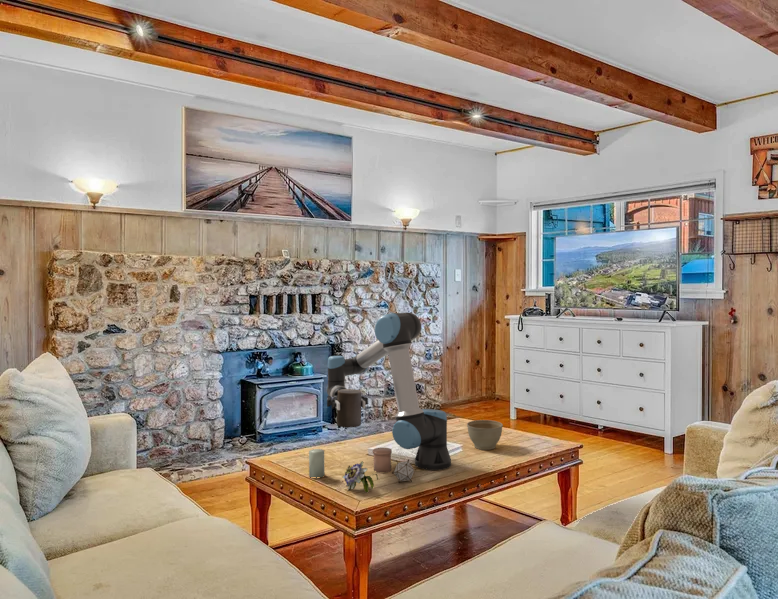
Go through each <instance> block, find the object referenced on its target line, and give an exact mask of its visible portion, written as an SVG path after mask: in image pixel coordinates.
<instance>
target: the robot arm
mask: <svg viewBox="0 0 778 599" xmlns="http://www.w3.org/2000/svg"><path fill="white" fill-rule="evenodd" d="M421 332H422V322H421V319H420V317H418V315H416V314H414V313H412V312H395V313H394V312H392V313H387V314H383V315H381V316H380V317H378V319H377V322H376V323H375V325H374V334H375V335H374V336H375V338H376V339H377V340H376V341H375V342H374V343H372V344H370V345H368V346H367V347H366V348H364V349H363V350H362V351H360V352H359V353H358V354H356V355H355V356H353V357H352V358H351V357H350V358H345V356H343V355H331V356H329V357H328V359H327V385H326V394H327V398H326V407H329V408H330V407H331V409H336V410H340V403H339V402H338V401H337V397H338V390H342V389H347V388H346V382H345V381H346V377H348V376H353V375H361V374H363V373H366V372H367V371H368V369H369V368H370V367H371V366H373V365H374V364H375V363H377V362H378V361H379V360H381V359H382V358H384V357H385V356H388V359H389V360H388V361H389V365H390V371H391V377H392V383H393V388H394V395H395V399H396V407H397V412H396V414H395V415H394V417H395V421H396V422H395V423H394V424H393V427H392V428H391V434H392V438H393V440H394V442H395V443H396V444H397V445H398V446H399V447H400V448H402V449H405V450H412V449H416V448H417V451H416V454H415V457H414V466H415V467H416V468H419V469H422V470H426V471H427V470H428V471H442V470H446V469H449V468H450V467H451V466H452V458H451V455H450V452H449V448H448V442H447V441H448V437H447V436H448V434H447V433H448V431H447V430H448V428H447V427H448V426H447V425H448V420H447V418H448V417H447V413H446V412H445V411H443V410H439V409H432V408H420V406H419V398H418V394H417V388H416V382H415V377H414V372H413V364H412V360H411V354H410V348H411V346H412V345H413V344H412V341H414V340H415V339H416V338H418V336H420V334H421ZM368 404H369V398H368V397H366V396H365V395H361V409H363V410H365V409H366V405H368Z"/></svg>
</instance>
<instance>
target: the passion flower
mask: <svg viewBox="0 0 778 599" xmlns="http://www.w3.org/2000/svg"><path fill="white" fill-rule="evenodd" d="M363 466H364V461H363V460H362V461H360V462H359V463H355V464H353V466H352V465H348V466H347V468H346V469H345V471H344V475H342V478H343V479H344V481H345V484H346V485H345V486H346V487H347V489H350V490H352V491H353V490H354V489H355V488H356V486H357V484H361V483H362V486H363V490H364V492H365V493H367V492H368V493H369V489H370V488H371V490H373V489H374V487H375V484H374V481H373V478H372V477H371V476H373V475H375V476H376V480H379V476H378V472H376V473H372V474H370V475H366V473H367V471H368V467H363Z"/></svg>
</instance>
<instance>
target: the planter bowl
mask: <svg viewBox="0 0 778 599" xmlns="http://www.w3.org/2000/svg"><path fill="white" fill-rule="evenodd" d="M466 428H467V433H468V437H469V438H470V440H471V442H472V443H473V445H474V449H475V448H476V449H478V450H482V451H485V450H487V451H490V450H494V449H496V446H497V444H498V442H499V441H500V439H501V436H502V434H503V433H502V431H503V423H502V422H500V421H496V420H491V419H477V420H470V421H468V422H467V423H466Z"/></svg>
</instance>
